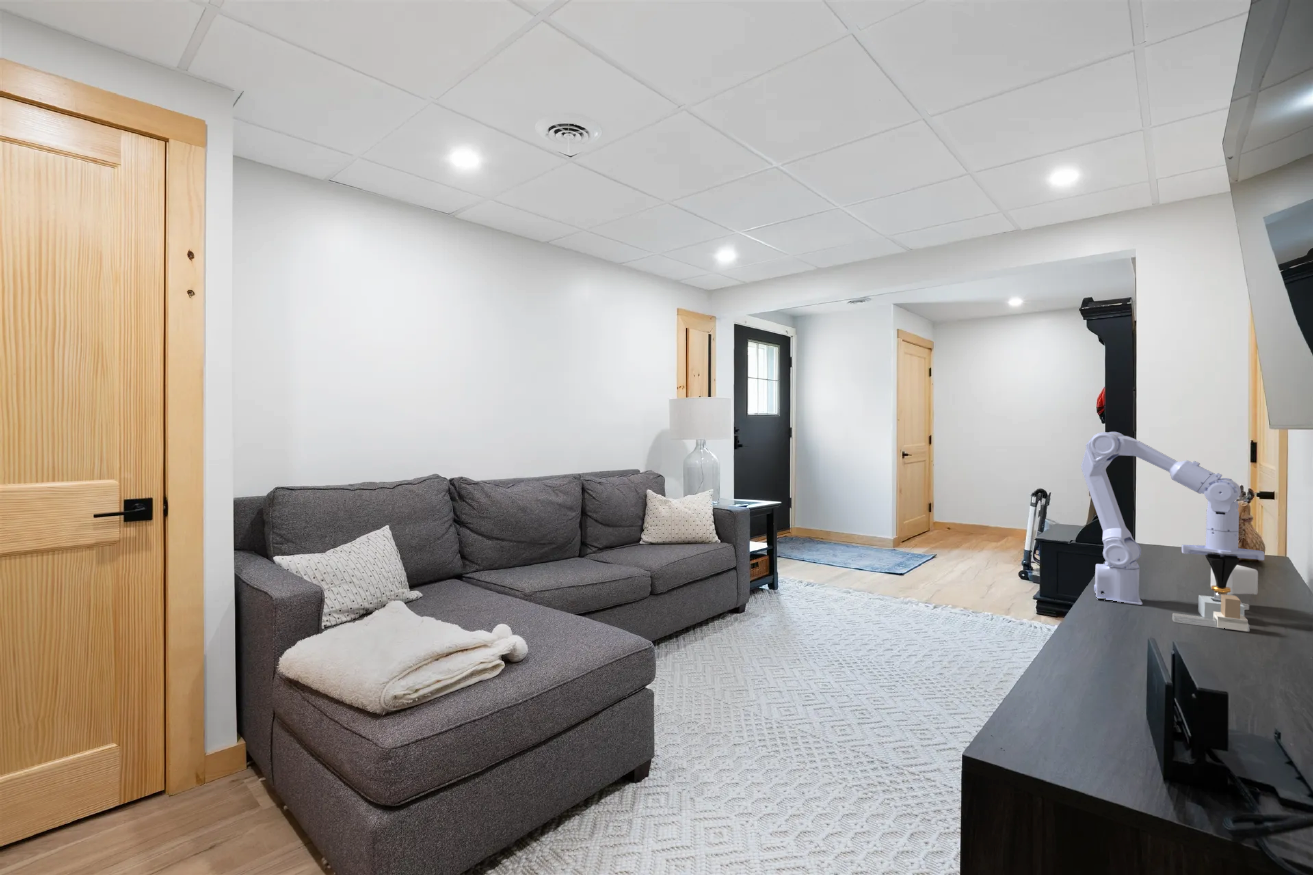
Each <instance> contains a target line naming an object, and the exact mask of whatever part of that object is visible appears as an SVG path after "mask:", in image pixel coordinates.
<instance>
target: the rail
mask: <svg viewBox="0 0 1313 875" xmlns="http://www.w3.org/2000/svg"><path fill="white" fill-rule="evenodd" d="M1171 620H1172V621H1173V622H1174V623H1179V624H1187V625H1192V626H1193V625H1194V626H1202V627H1209V628H1216V629H1217V628H1218V627H1217V619H1216V618H1209V617H1202V615H1200V616H1199V615H1198V616H1197V615H1192V614H1191V615H1190V614H1184V613H1183V614H1182V613H1177V612H1172V616H1171ZM1218 629H1219V628H1218ZM1230 630H1233V629H1230ZM1233 631H1234V630H1233ZM1238 631H1240V632H1242V631H1241V630H1238ZM1246 632H1248V633H1250V624H1249V623H1248V631H1246Z"/></svg>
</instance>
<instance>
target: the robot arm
mask: <svg viewBox="0 0 1313 875" xmlns="http://www.w3.org/2000/svg"><path fill="white" fill-rule="evenodd" d="M1119 456H1127V457H1128V456H1130V457H1137V458H1138V459H1140V460H1142V461H1145V462H1146V463H1149V464H1150V465H1151V464H1152V465H1153V466H1155V467H1157V468H1160V469H1161V470H1164V471H1165V472H1168V473H1169V474H1170V475H1169V476H1170V478H1171V480H1172V481H1174V482H1175V483H1178V484H1180V485H1182V486H1184V488H1185V487H1186V488H1187V489H1189V490H1192V491H1194V492H1195V493H1197V494H1202V495H1204V497H1205V498H1206V500H1207V509H1206V517H1205V518H1206V519H1205V520H1206V522H1205V524H1206V526H1205V545H1202V544H1201V545H1199V544H1197V545H1196V544H1181V553H1182V554H1184V555H1189V554H1190V555H1191V554H1192V555H1201V556H1205V558H1206V560H1207V562H1208V563H1209V565H1210V569H1211V568H1212V571H1213V573H1214V576H1215V580H1216V586H1217V587H1222V588H1226V585H1227V581H1228V579H1229V576H1230V574H1231V573H1232V571H1233V569H1234V568H1235V567H1236V566H1237V565H1239V561H1240V560H1239V559H1249V560H1258V561H1265V551H1263V550H1257V549H1248V548H1247V549H1246V548H1241V547H1239V530H1240V525H1239V523H1240V512H1239V508H1240V506H1239V501H1238V499H1239V498H1240V496H1241V493H1242V490H1241V487H1240V485H1239V484H1238V483H1237V482H1236V481H1234V480H1233V479H1232V478H1228V477H1223V474H1222V473H1220V472H1217V473H1214V472H1213V471H1210V470H1209V469H1207V468H1204V467H1203V466H1201V463H1200V462H1198V461H1195V460H1194V461H1190V460H1187V459H1186V460H1182V461H1181V460H1180V461H1178V460H1176V459H1173V458H1172V457H1170V456H1168V455H1166V454H1164V453H1162V452H1161V451H1159V450H1157V449H1155V448H1153V447H1152V446H1150V445H1147V444H1146V443H1144V442H1142V441H1141V440H1137V439H1136V438H1133V437H1131V436H1129V435H1124V434H1122V433H1120V432H1117V431H1109V432H1105V431H1103V432H1102V431H1101V432H1098V433H1096V434H1094V435H1093V436H1092V437H1091V438H1090V439H1089V440H1088V441H1087V442H1086V444H1085V451H1084V454H1083V457H1082V462H1081V465H1080V468H1081V472H1082V474H1083V478H1084V481H1085V484H1086V486H1087V489H1088V491H1089V492H1088V493H1089V495H1090V498H1091V501H1092V504H1093V507H1094V509H1095V512H1096V514H1097V517H1098V520H1099V524H1100V526H1101V529H1102V537H1101V538H1102V540H1101V541H1102V543H1103V551H1102V556H1103V558H1104V560H1105V561H1104V563H1096V564H1095V571H1094V572H1095V573H1094V584H1093V591H1094V593H1096V595H1095V598H1096V597H1097V598H1106V600H1113V601H1117V602H1116V603H1121V602H1124V603H1123V604H1130V605H1140V606H1141V605H1142V606H1143V602H1142V600H1141V598H1140V591H1139V590H1140V565H1139V563H1138V562H1137V561H1138V560H1139V558H1140V557H1141V555H1142V548H1141V546H1140V544H1139V543H1138V542H1137V541H1136V540H1135V539H1134V538H1133V536H1132V533H1131V532H1130V530H1129V529H1128V528H1127V526H1126V524H1125V521H1124V519H1123V515H1122V512H1121V509H1120V507H1119V505H1118V501H1117V498H1116V496H1115V492H1114V490H1113V486H1112V484H1111V482H1110V479H1109V477H1108V474H1107V467H1108V466H1110V464H1111V462H1112V461H1113V460H1114V459H1115V458H1117V457H1119ZM1238 558H1239V559H1238ZM1102 593H1104V594H1102ZM1097 598H1096V599H1097ZM1113 601H1112V602H1113Z"/></svg>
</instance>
